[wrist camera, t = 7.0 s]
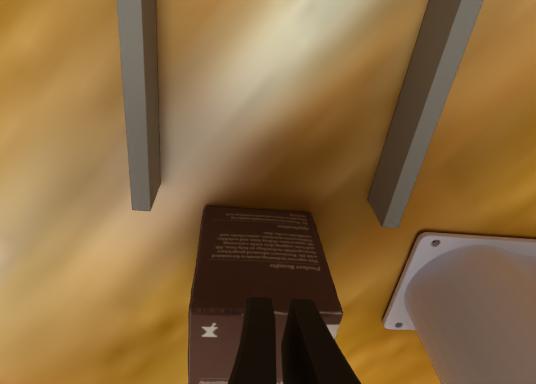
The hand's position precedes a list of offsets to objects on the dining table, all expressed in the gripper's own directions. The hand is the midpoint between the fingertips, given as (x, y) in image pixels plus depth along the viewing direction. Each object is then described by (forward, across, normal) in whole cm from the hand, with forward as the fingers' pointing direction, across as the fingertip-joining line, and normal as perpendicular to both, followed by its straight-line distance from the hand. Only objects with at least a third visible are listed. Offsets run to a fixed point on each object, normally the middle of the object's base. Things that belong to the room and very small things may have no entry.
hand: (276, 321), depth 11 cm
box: (+10, 0, +5) cm, 11 cm away
